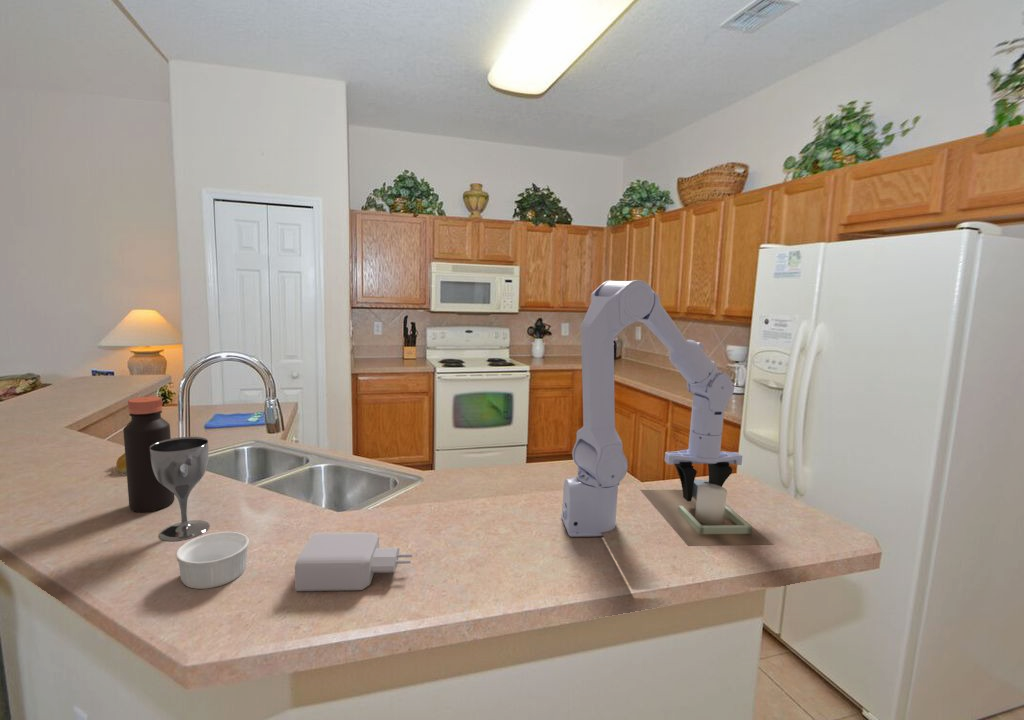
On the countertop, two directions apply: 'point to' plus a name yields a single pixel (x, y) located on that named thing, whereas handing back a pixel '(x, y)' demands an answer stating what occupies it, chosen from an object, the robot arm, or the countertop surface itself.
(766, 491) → the countertop surface
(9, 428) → the countertop surface
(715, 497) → the white blue t-bar grip
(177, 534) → the wine glass
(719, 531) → the cradle
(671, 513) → the board
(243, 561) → the ramekin
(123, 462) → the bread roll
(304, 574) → the charger
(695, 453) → the robot arm
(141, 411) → the bottle
